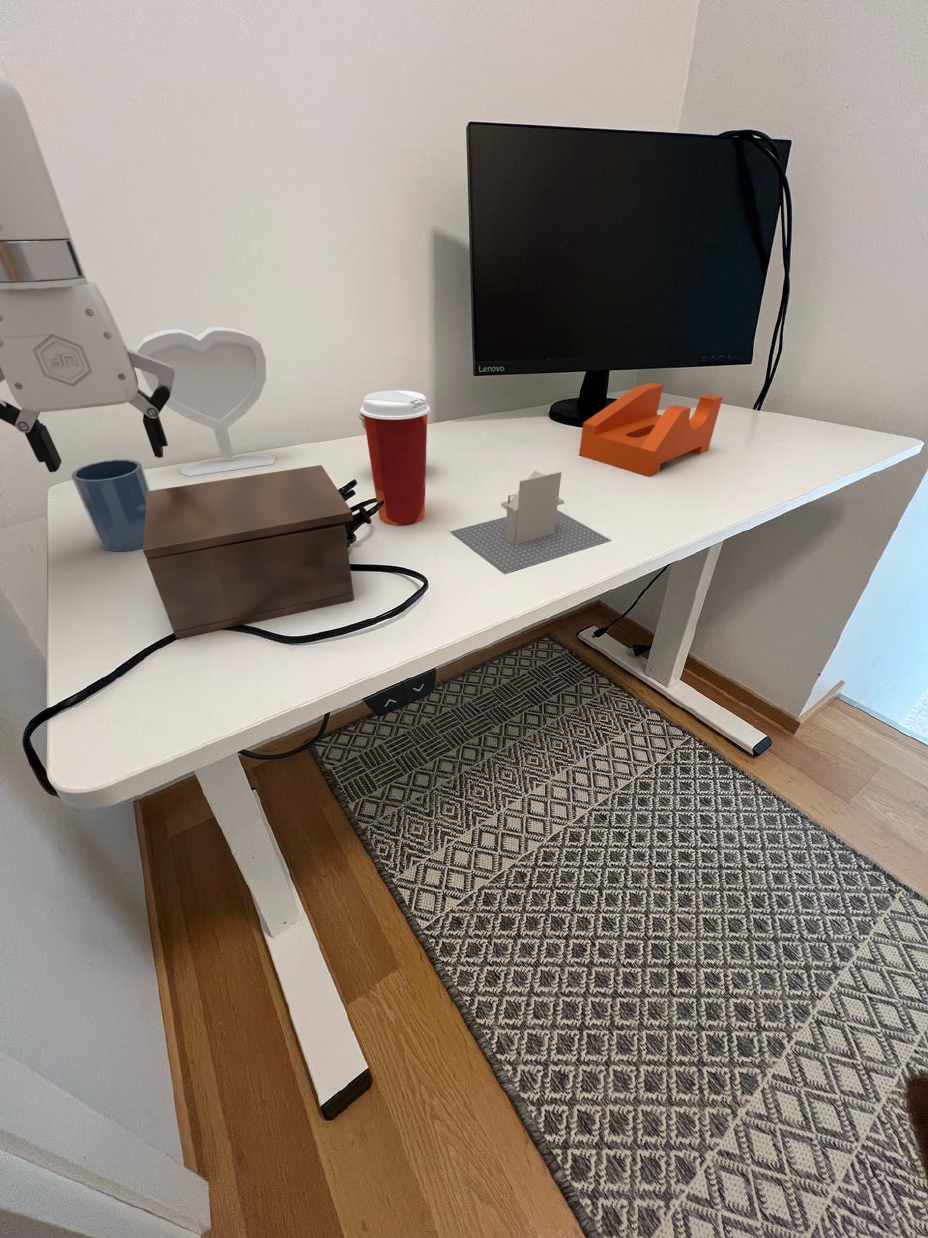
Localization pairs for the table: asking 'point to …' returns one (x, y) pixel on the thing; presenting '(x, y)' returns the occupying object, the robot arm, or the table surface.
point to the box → (253, 579)
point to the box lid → (240, 510)
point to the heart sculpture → (211, 385)
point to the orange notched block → (647, 430)
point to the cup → (114, 502)
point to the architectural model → (530, 528)
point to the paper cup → (397, 452)
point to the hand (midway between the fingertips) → (109, 460)
